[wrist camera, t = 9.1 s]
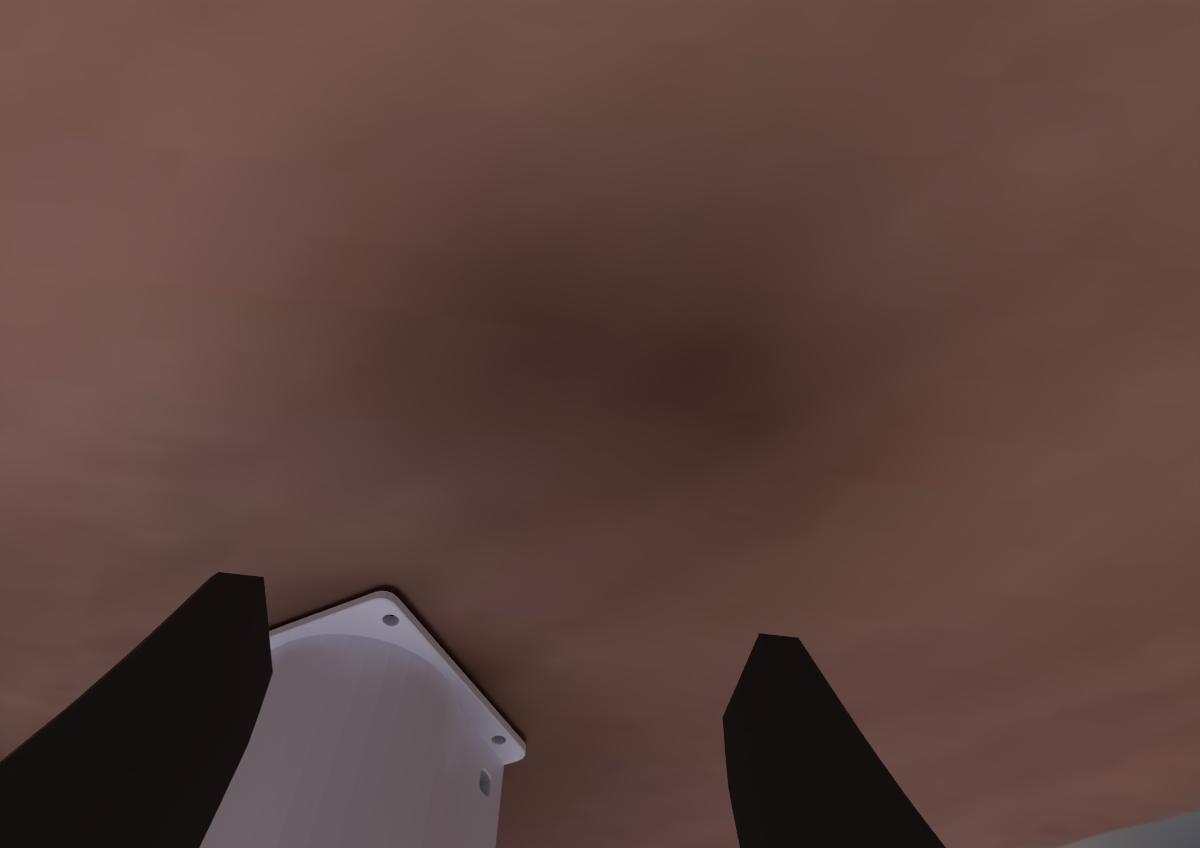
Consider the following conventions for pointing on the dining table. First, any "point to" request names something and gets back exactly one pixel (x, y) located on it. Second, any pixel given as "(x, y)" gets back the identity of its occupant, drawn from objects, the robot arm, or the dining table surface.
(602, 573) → the dining table surface
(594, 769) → the dining table surface
